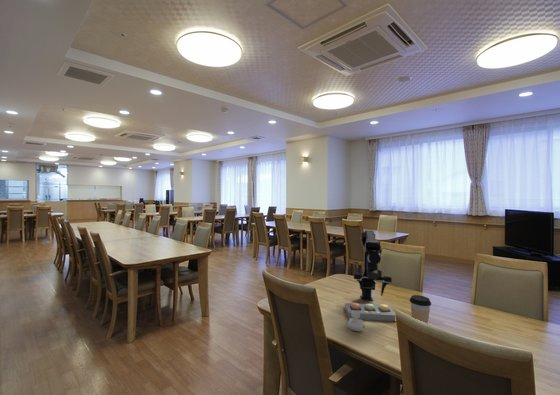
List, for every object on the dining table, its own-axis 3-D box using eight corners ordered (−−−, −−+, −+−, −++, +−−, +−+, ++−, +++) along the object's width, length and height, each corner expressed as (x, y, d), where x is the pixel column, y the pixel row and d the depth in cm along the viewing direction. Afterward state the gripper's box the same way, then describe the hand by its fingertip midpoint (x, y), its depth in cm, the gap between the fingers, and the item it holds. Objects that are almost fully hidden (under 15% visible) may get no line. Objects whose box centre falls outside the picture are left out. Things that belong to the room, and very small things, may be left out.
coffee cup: (433, 335, 130) (434, 302, 129) (411, 332, 131) (412, 300, 131) (426, 325, 139) (427, 295, 139) (406, 323, 141) (407, 293, 141)
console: (344, 308, 158) (345, 302, 158) (388, 310, 156) (388, 304, 156) (348, 318, 145) (349, 312, 145) (396, 321, 143) (397, 314, 143)
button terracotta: (350, 308, 153) (350, 302, 153) (358, 309, 153) (358, 303, 153) (352, 312, 149) (352, 305, 149) (360, 312, 149) (360, 306, 149)
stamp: (365, 328, 135) (366, 310, 135) (364, 334, 128) (365, 316, 128) (346, 324, 138) (347, 307, 138) (344, 330, 132) (345, 312, 132)
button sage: (364, 309, 153) (364, 303, 153) (372, 310, 152) (373, 303, 152) (366, 313, 148) (366, 306, 148) (374, 313, 148) (375, 307, 148)
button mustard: (378, 310, 152) (378, 304, 152) (386, 310, 152) (387, 304, 152) (381, 313, 148) (381, 307, 148) (389, 314, 148) (389, 307, 148)
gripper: (353, 262, 146) (353, 294, 142) (392, 265, 141) (392, 298, 137) (354, 263, 156) (353, 292, 153) (390, 265, 151) (390, 296, 147)
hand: (372, 295), depth 147 cm, fingers open, 9 cm apart
